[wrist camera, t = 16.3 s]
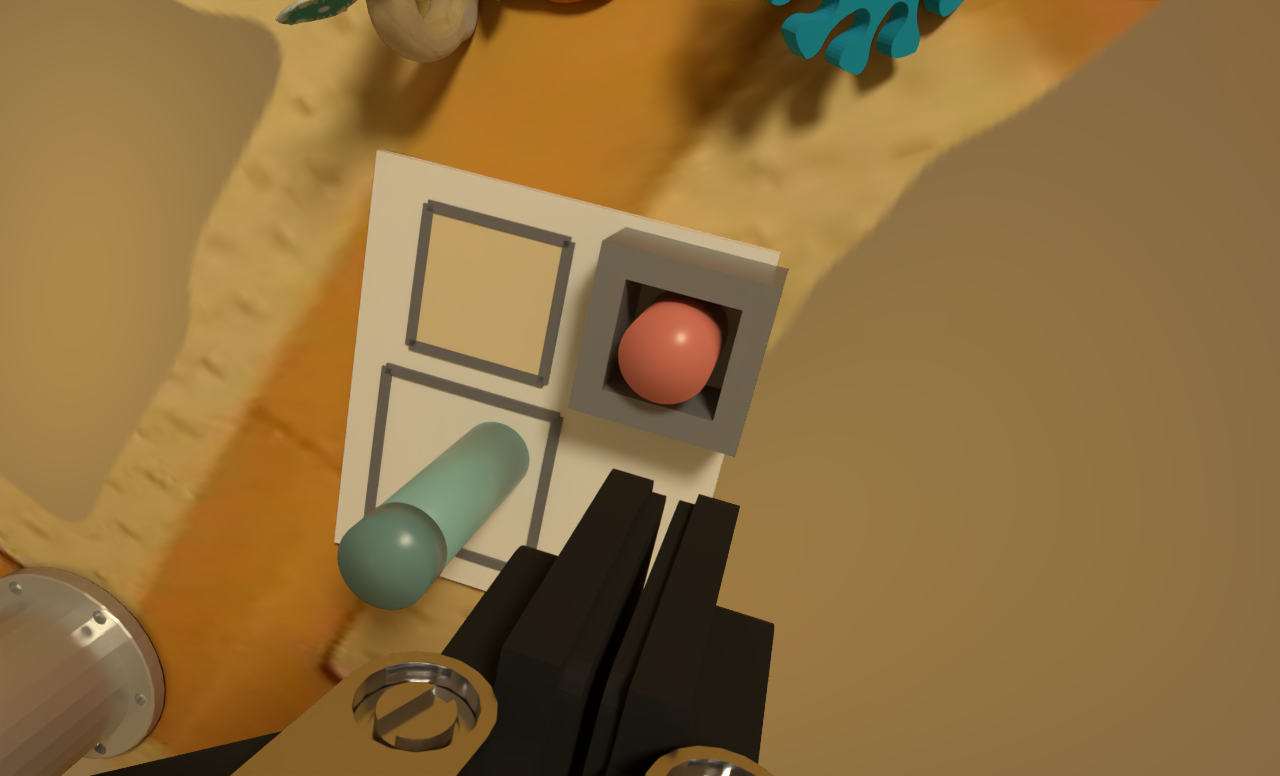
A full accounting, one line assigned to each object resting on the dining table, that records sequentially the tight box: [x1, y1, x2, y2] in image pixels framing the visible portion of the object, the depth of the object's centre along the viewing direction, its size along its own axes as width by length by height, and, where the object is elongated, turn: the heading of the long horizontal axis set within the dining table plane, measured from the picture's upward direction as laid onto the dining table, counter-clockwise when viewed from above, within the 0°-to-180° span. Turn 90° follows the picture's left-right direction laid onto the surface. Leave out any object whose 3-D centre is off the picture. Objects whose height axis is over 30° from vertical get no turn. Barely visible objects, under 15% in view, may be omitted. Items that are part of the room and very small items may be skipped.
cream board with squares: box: [334, 149, 781, 591], centre depth 41 cm, size 18×20×1 cm
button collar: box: [568, 227, 788, 457], centre depth 36 cm, size 7×7×4 cm
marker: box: [338, 422, 530, 610], centre depth 36 cm, size 4×4×11 cm
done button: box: [618, 290, 728, 404], centre depth 35 cm, size 4×4×5 cm
